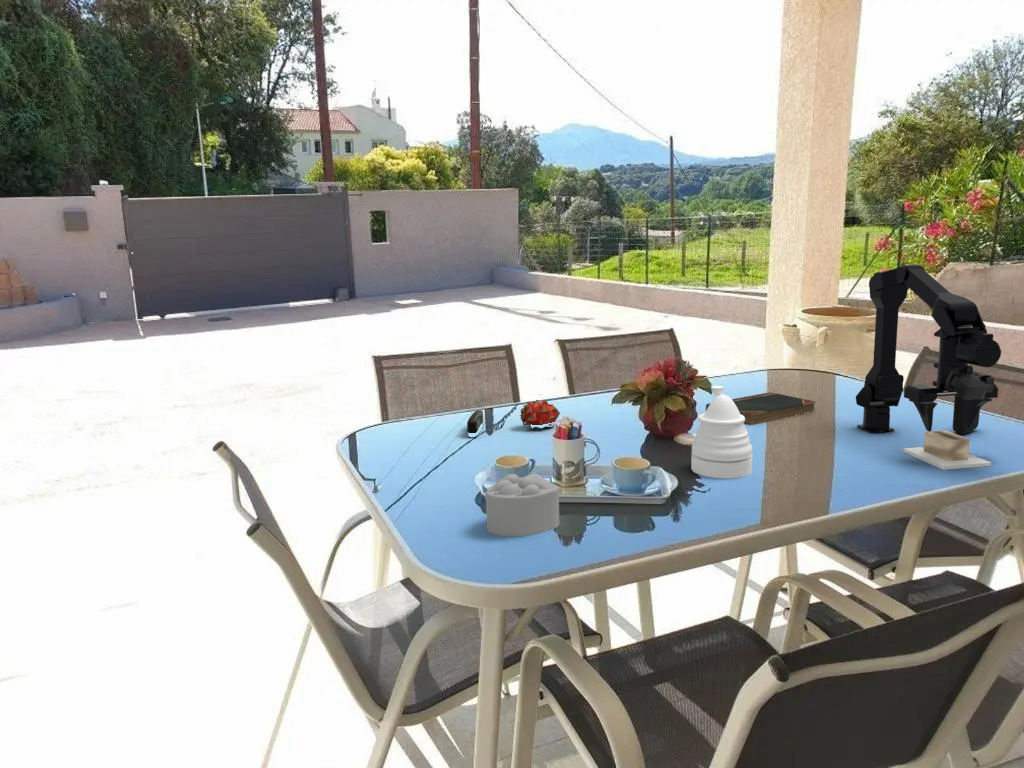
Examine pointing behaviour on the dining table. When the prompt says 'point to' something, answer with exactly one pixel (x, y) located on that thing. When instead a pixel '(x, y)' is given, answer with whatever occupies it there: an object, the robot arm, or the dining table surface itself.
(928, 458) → the mat
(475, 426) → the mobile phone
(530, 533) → the lumpy-topped squat cylinder
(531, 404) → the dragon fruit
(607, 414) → the dining table surface
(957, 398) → the carrying case or bag
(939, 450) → the tan rectangular block
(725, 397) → the honey pot
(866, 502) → the dining table surface
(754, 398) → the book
